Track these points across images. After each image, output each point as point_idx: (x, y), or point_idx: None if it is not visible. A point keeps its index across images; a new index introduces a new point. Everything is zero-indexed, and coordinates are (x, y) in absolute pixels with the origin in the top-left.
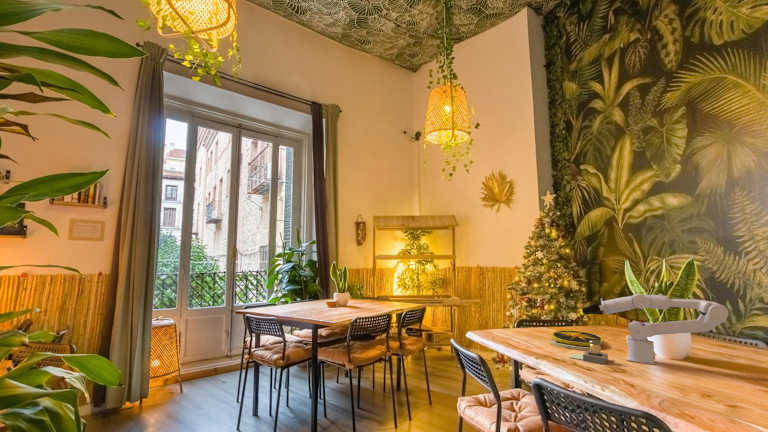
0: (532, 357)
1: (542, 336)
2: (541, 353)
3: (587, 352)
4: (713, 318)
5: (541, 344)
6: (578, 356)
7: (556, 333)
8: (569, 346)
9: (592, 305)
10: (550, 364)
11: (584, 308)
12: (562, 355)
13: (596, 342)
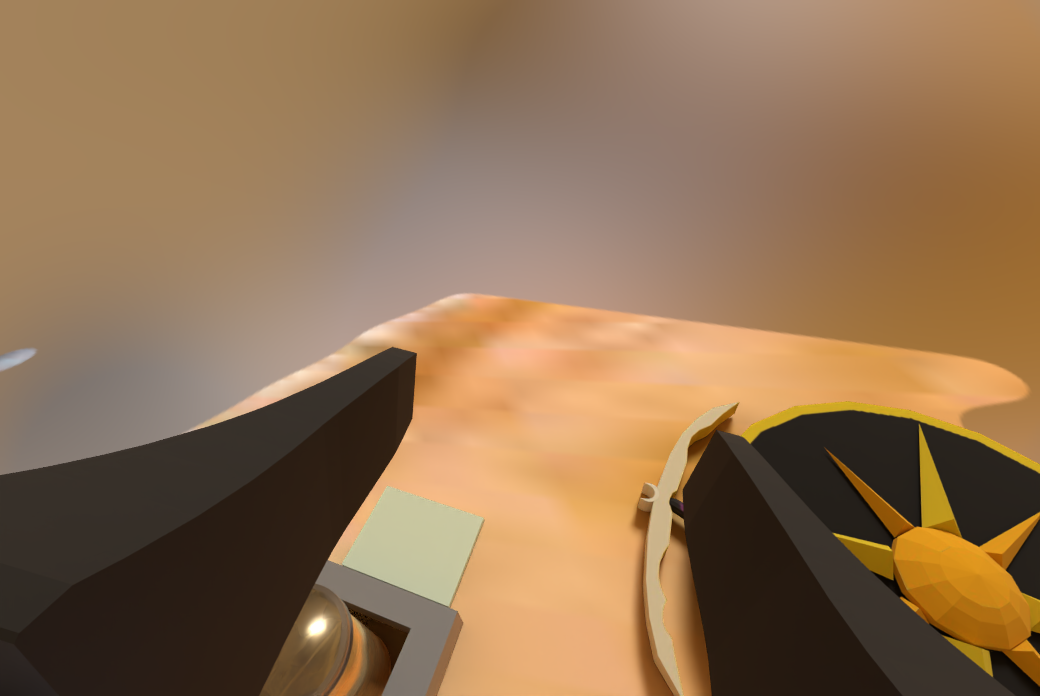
0: (376, 335)
1: (911, 387)
2: (460, 367)
3: (387, 603)
4: None
5: (669, 374)
6: (414, 547)
7: (897, 431)
8: (652, 512)
9: (153, 456)
10: (257, 392)
11: (360, 368)
12: (445, 457)
13: None
